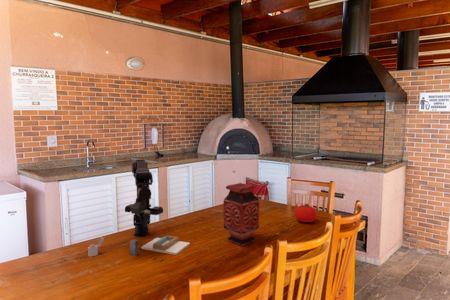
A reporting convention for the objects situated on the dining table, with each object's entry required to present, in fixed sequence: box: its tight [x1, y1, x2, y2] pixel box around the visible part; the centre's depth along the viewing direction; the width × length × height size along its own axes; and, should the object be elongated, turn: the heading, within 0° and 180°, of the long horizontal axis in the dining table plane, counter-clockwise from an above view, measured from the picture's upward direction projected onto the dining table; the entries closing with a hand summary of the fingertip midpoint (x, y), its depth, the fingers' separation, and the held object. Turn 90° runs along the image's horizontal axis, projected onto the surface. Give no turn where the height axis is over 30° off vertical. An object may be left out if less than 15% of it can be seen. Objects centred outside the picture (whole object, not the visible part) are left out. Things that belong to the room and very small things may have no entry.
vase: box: [222, 182, 260, 247], centre depth 180 cm, size 14×14×30 cm
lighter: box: [87, 236, 105, 258], centre depth 163 cm, size 7×2×8 cm, turn 125°
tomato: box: [293, 204, 317, 223], centre depth 214 cm, size 13×12×11 cm
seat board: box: [141, 235, 191, 256], centre depth 173 cm, size 20×14×3 cm
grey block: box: [129, 238, 140, 257], centre depth 164 cm, size 3×3×7 cm
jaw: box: [154, 236, 167, 245], centre depth 174 cm, size 2×10×2 cm, turn 159°
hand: (144, 226), depth 168 cm, fingers closed
